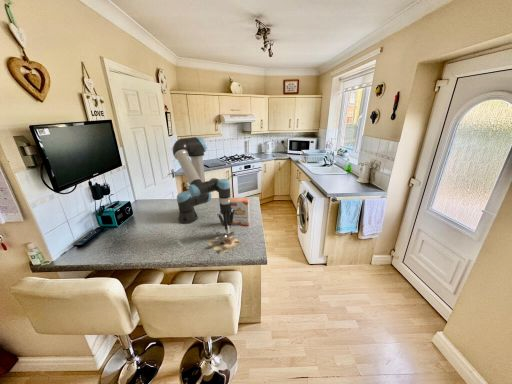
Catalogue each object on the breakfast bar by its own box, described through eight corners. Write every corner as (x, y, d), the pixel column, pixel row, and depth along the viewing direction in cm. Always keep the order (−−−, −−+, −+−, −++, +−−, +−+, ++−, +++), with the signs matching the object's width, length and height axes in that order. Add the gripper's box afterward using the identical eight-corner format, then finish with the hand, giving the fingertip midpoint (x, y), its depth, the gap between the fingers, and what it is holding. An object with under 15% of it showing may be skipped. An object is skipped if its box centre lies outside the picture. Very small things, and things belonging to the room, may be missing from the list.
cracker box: (231, 225, 154) (229, 201, 146) (232, 221, 159) (230, 197, 151) (249, 226, 152) (247, 201, 144) (250, 222, 158) (249, 198, 150)
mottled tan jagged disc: (206, 243, 133) (205, 239, 132) (227, 233, 144) (227, 229, 142) (219, 256, 121) (219, 251, 120) (242, 244, 132) (241, 240, 130)
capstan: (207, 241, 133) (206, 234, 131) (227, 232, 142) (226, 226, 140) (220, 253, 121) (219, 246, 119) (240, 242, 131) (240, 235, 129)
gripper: (219, 207, 124) (223, 239, 133) (236, 201, 132) (238, 231, 141) (213, 203, 129) (217, 234, 138) (230, 198, 137) (232, 227, 146)
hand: (228, 233), depth 139 cm, fingers closed
